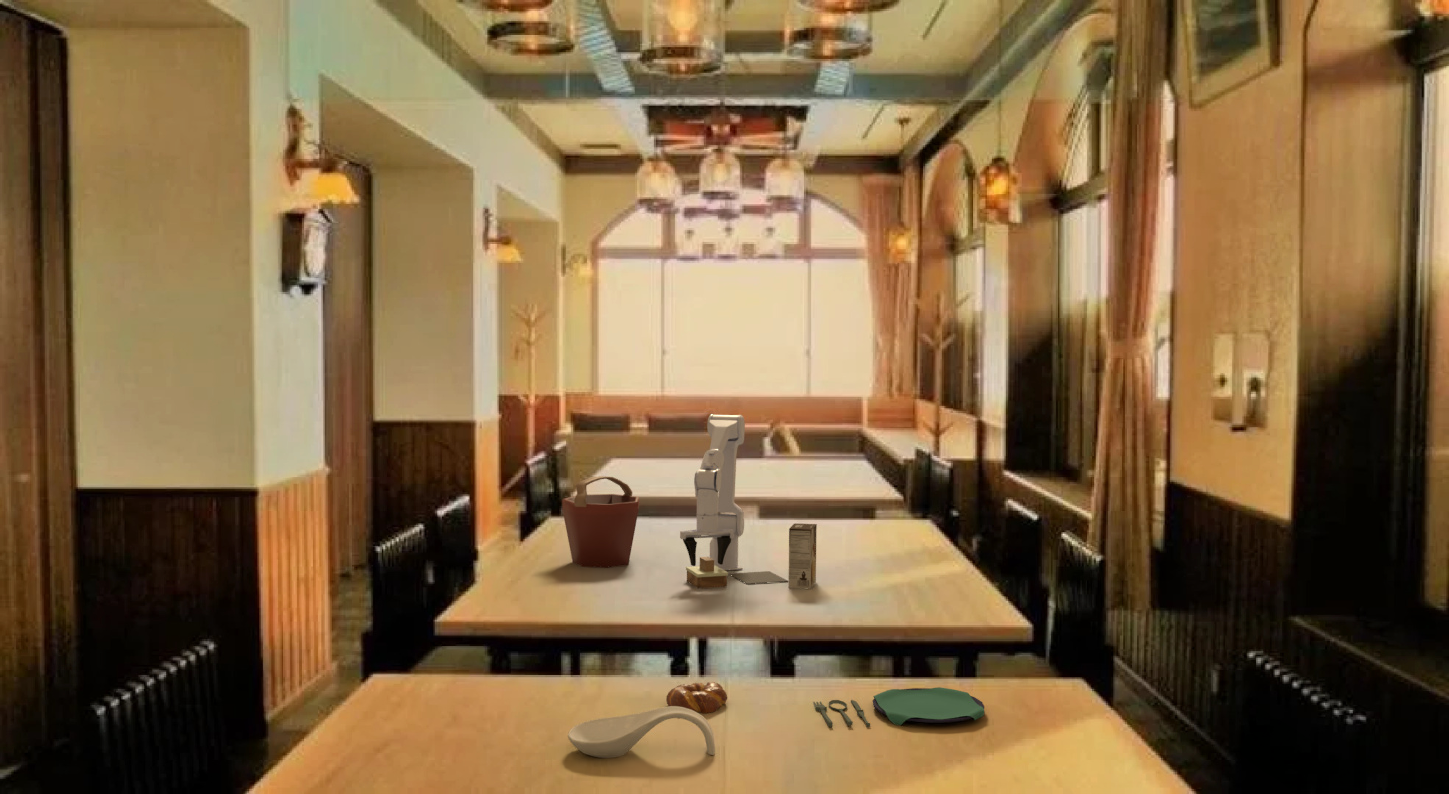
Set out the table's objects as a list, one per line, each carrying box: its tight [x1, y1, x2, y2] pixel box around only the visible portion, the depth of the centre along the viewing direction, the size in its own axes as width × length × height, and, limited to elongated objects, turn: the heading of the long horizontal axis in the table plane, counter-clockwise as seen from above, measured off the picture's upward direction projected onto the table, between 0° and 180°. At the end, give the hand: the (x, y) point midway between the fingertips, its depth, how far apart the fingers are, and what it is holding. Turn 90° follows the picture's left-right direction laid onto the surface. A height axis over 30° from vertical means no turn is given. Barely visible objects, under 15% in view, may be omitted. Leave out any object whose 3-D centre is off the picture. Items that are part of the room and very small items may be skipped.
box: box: [686, 570, 728, 589], centre depth 328 cm, size 10×8×3 cm
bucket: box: [561, 475, 640, 569], centre depth 356 cm, size 24×22×25 cm
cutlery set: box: [812, 686, 986, 728], centre depth 219 cm, size 20×30×2 cm, turn 95°
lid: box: [685, 556, 729, 577], centre depth 327 cm, size 10×8×4 cm
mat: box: [728, 570, 789, 585], centre depth 336 cm, size 14×12×1 cm
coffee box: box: [788, 523, 818, 590], centre depth 327 cm, size 9×6×16 cm
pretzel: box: [666, 681, 728, 714], centre depth 222 cm, size 12×11×4 cm
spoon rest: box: [567, 705, 716, 759], centre depth 197 cm, size 24×12×7 cm, turn 93°
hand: (706, 564), depth 327 cm, fingers open, 7 cm apart
